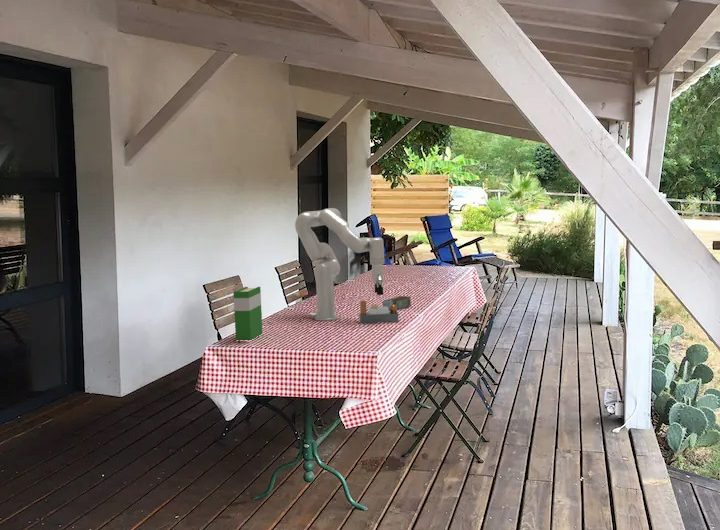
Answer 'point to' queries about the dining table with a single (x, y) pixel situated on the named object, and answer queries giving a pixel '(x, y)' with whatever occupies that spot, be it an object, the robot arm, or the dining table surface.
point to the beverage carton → (398, 302)
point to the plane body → (377, 315)
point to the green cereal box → (247, 313)
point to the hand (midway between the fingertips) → (379, 293)
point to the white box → (378, 310)
